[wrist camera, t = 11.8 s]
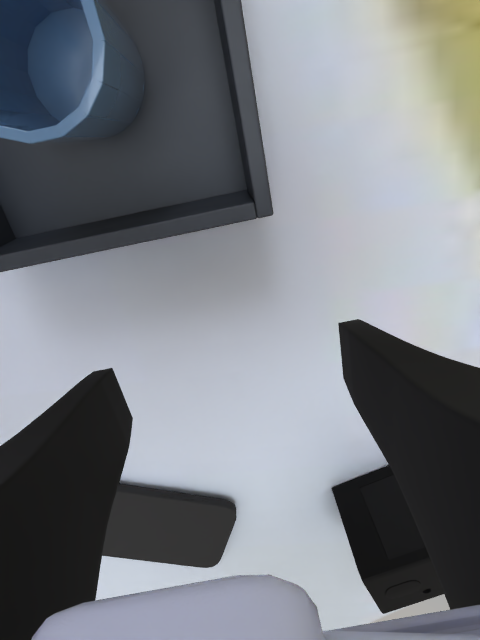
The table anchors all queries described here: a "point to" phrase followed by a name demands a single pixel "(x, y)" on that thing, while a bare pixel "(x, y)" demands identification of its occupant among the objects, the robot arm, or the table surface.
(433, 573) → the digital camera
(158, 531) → the phone
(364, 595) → the table surface
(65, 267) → the table surface
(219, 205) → the tub
